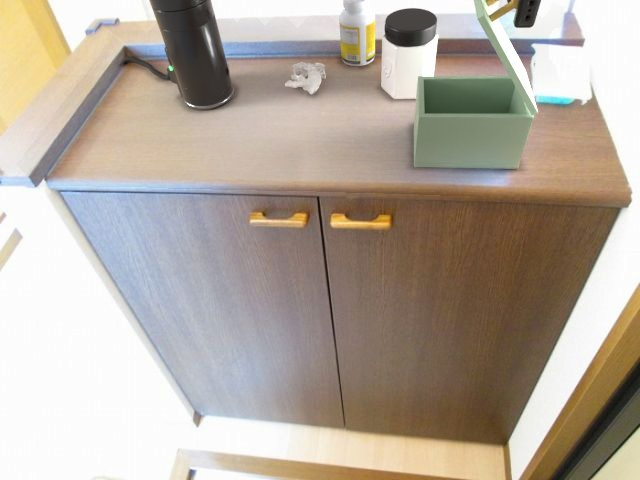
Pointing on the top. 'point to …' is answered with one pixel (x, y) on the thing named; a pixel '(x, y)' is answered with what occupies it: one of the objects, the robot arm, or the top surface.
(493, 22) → the lid
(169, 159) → the top surface
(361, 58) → the pill bottle
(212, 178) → the top surface
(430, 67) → the jar
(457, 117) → the chest
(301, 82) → the pelvis model
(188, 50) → the robot arm
